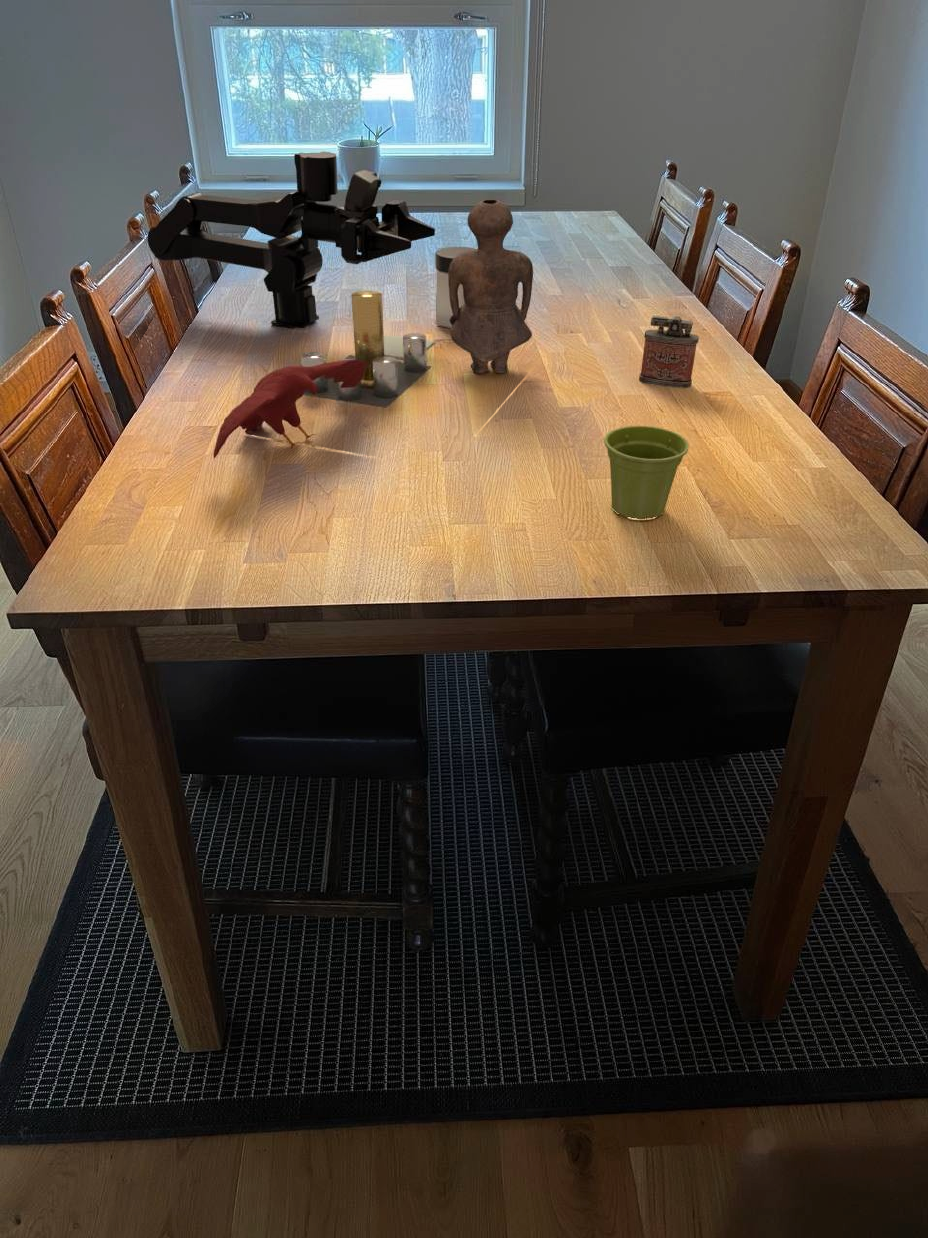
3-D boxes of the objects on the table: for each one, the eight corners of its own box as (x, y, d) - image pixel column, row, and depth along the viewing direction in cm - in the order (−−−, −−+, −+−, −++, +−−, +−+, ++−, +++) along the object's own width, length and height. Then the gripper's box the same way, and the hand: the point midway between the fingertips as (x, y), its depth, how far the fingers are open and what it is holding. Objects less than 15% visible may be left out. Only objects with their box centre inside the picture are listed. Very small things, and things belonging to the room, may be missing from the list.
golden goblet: (346, 385, 138) (340, 298, 131) (362, 373, 142) (357, 287, 135) (380, 390, 137) (376, 302, 129) (395, 377, 141) (392, 291, 133)
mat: (297, 395, 136) (297, 393, 135) (349, 356, 149) (349, 354, 149) (386, 409, 132) (386, 407, 131) (431, 368, 145) (431, 366, 145)
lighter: (692, 381, 142) (703, 317, 136) (689, 389, 139) (700, 323, 133) (640, 375, 144) (648, 311, 138) (636, 382, 141) (645, 317, 135)
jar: (449, 332, 160) (449, 260, 153) (425, 319, 165) (424, 250, 158) (491, 323, 164) (493, 253, 157) (466, 311, 169) (467, 243, 162)
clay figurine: (527, 359, 149) (535, 193, 135) (532, 381, 141) (542, 207, 126) (447, 359, 149) (447, 192, 134) (448, 382, 141) (448, 207, 126)
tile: (363, 355, 150) (363, 351, 150) (385, 338, 157) (385, 334, 156) (413, 362, 147) (413, 358, 147) (434, 344, 154) (434, 341, 154)
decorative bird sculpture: (206, 509, 116) (256, 447, 105) (159, 451, 115) (204, 383, 104) (344, 432, 136) (398, 373, 125) (305, 381, 135) (355, 318, 124)
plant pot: (590, 492, 111) (596, 425, 106) (665, 489, 112) (676, 423, 107) (606, 530, 104) (614, 460, 99) (687, 527, 105) (699, 458, 100)
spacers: (297, 393, 135) (294, 360, 133) (349, 354, 149) (347, 324, 146) (384, 406, 132) (383, 373, 129) (430, 366, 145) (429, 334, 142)
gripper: (305, 181, 139) (398, 194, 134) (362, 161, 153) (447, 173, 148) (309, 257, 145) (397, 272, 141) (363, 232, 159) (445, 245, 155)
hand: (423, 238), depth 146 cm, fingers open, 9 cm apart
